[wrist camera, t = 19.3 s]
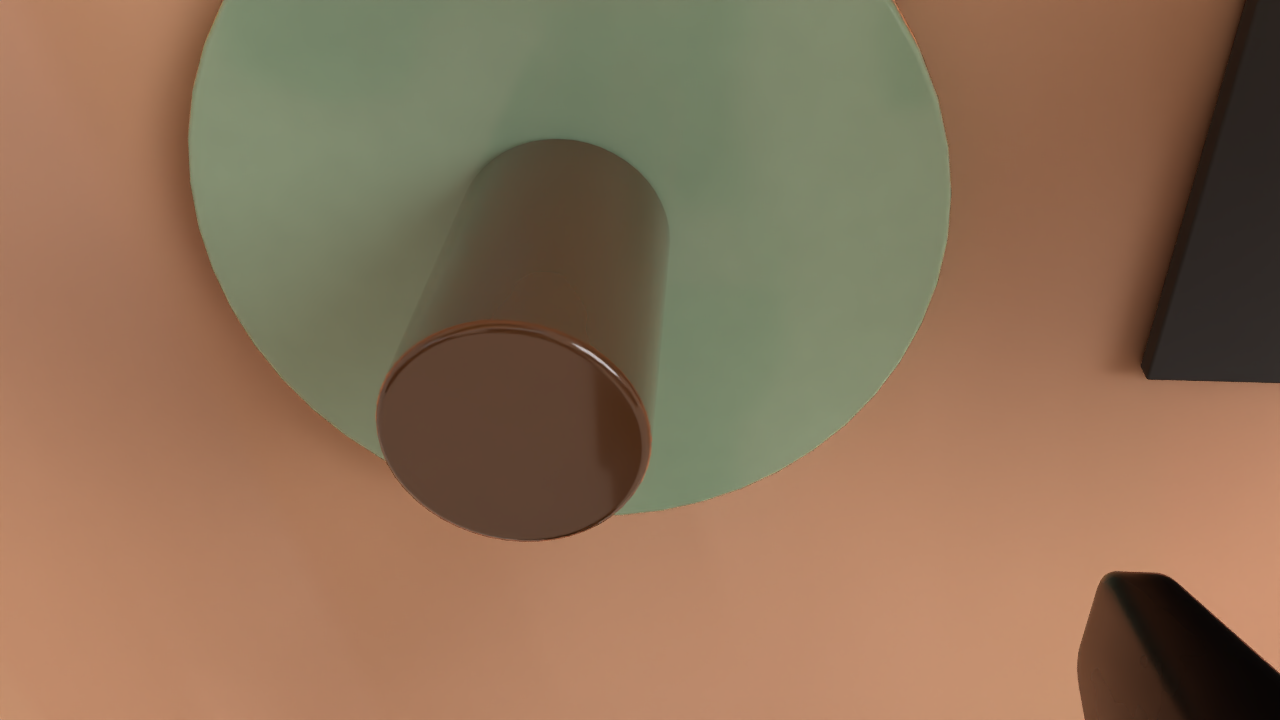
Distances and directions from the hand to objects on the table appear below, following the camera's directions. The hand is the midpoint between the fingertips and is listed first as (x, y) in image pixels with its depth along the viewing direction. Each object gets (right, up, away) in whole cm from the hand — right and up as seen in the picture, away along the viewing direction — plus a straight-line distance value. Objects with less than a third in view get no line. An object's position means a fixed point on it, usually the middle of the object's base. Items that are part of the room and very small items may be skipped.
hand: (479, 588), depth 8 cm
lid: (0, +3, +5) cm, 6 cm away
